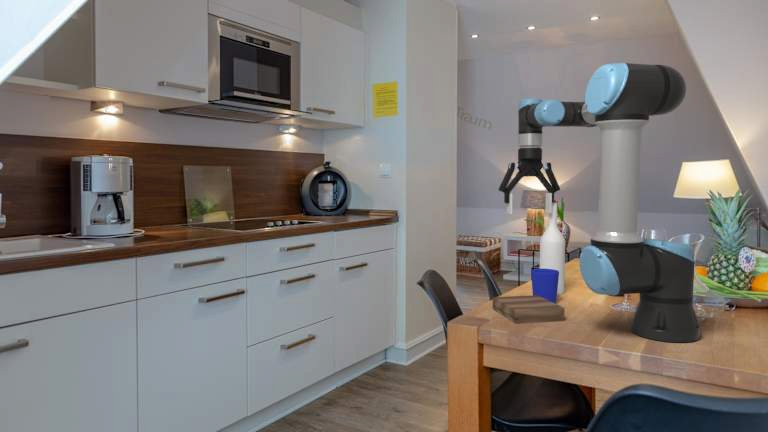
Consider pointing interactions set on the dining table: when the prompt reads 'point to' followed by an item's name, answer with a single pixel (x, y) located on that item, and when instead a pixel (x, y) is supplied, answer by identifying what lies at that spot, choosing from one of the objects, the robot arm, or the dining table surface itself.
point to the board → (528, 309)
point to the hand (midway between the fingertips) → (529, 213)
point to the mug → (545, 283)
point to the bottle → (553, 249)
